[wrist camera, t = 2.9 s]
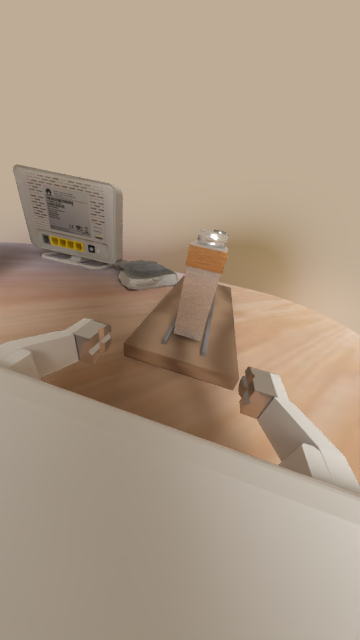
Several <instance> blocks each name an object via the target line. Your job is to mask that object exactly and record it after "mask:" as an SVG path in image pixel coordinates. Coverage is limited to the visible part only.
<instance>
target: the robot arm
mask: <svg viewBox="0 0 360 640" xmlns="http://www.w3.org/2000/svg"><path fill="white" fill-rule="evenodd" d="M110 332H111V326H110V325H108V324H105V323H102V322H99V321H95V320H92V319H89V318H83V319H82V320H80V321H79V322H77V323H75V324H74V325H72V326H71V327H69V328H67V329H66V330H64V331H61V330H60V331H55V332H50V333H46V334H41V335H36V336H31V337H27V338H22V339H17V340H13V341H8V342H5V343H3V344H1V345H0V640H360V485H359V483H358V481H357V479H356V477H355V476H354V474H353V472H352V470H351V468H350V466H349V464H348V462H347V460H346V458H345V456H344V455H343V454H342V453H341V452H340V451H339V450H338V449H337V448H336V447H335V446H334V445H333V444H332V443H331V442H330V441H329V440H328V439H327V438H326V437H325V435H324V434H323V433H322V432H321V431H320V430H319V429H318V428H317V427H316V426H315V425H314V424H313V423H312V422H311V421H310V420H309V419H308V418H307V417H306V416H305V415H304V414H303V413H302V412H301V411H300V410H299V409H298V408H297V407H296V406H295V404H294V403H292V402H289V399H288V396H287V394H286V391H285V389H284V386H283V383H282V381H281V378H280V376H279V375H278V374H275V373H271V372H266V371H263V370H260V369H256V368H253V367H248V368H247V369H246V371H245V374H246V375H245V376H243V377H242V378H241V380H240V383H239V395H240V396H241V400H240V401H239V402H240V413H241V414H244V415H247V416H250V417H253V418H255V419H258V420H257V421H258V422H259V424H260V426H261V427H262V429H263V431H264V432H265V434H266V436H267V438H268V439H269V441H270V443H271V444H272V446H273V448H274V449H275V451H276V453H277V455H278V456H279V458H280V460H281V461H282V462H281V463H280V464H279V465H276V464H273V463H270V462H268V461H265V460H262V459H259V458H256V457H254V456H251V455H248V454H245V453H242V452H240V451H237V450H234V449H231V448H228V447H226V446H223V445H220V444H217V443H214V442H211V441H209V440H206V439H203V438H200V437H197V436H195V435H192V434H189V433H186V432H183V431H181V430H178V429H175V428H172V427H169V426H166V425H164V424H161V423H158V422H155V421H152V420H150V419H147V418H144V417H141V416H138V415H136V414H133V413H130V412H127V411H124V410H122V409H119V408H116V407H113V406H110V405H108V404H105V403H102V402H99V401H96V400H94V399H91V398H88V397H85V396H82V395H80V394H77V393H74V392H71V391H68V390H66V389H63V388H60V387H57V386H54V385H52V384H49V383H46V382H43V381H42V380H41V378H42V377H45V376H47V375H49V374H51V373H53V372H56V371H58V370H60V369H62V368H65V367H67V366H69V365H71V364H73V363H76V362H78V361H79V360H80V361H83V362H86V363H90V364H94V363H95V362H96V361H97V360H98V359H99V358H100V354H101V353H103V352H105V351H106V350H107V349H108V348H109V346H110V344H111V336H110V334H109V333H110Z"/></svg>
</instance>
